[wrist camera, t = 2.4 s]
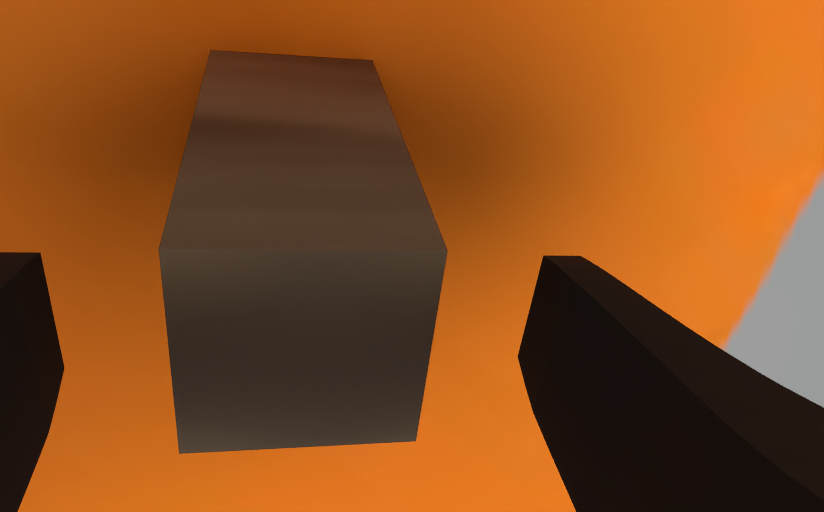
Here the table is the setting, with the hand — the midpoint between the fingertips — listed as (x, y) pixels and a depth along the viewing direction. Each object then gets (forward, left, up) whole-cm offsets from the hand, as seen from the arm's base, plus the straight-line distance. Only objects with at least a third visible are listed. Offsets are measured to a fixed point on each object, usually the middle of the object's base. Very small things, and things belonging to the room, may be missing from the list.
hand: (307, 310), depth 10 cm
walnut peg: (0, 0, -7) cm, 7 cm away
